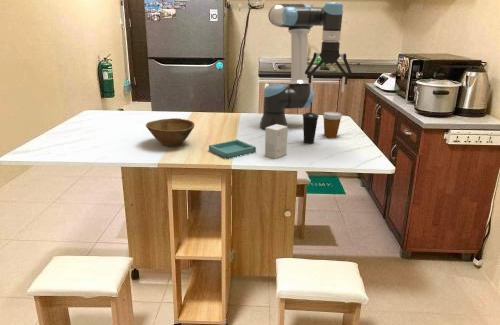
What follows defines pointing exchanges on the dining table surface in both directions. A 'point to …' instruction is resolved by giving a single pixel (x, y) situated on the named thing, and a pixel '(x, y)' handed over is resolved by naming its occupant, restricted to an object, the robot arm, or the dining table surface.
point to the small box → (276, 141)
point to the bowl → (170, 130)
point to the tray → (232, 149)
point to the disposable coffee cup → (331, 124)
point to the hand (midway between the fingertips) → (326, 91)
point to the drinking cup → (309, 126)
